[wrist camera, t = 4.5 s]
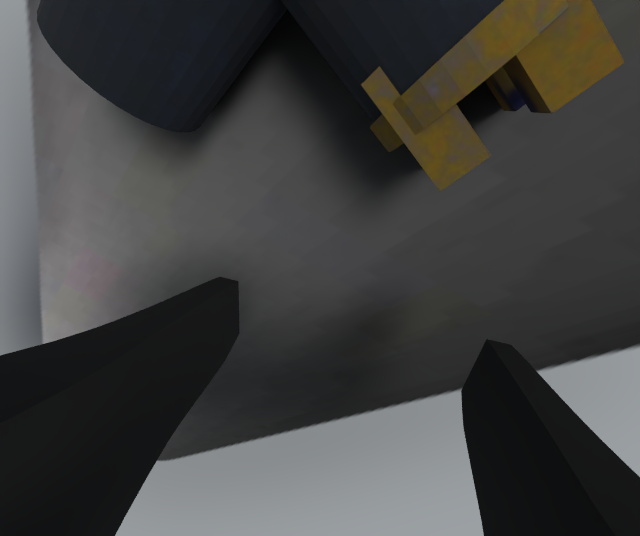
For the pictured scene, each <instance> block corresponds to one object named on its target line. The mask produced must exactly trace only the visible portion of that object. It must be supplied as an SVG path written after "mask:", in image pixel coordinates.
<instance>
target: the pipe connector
mask: <svg viewBox="0 0 640 536" xmlns="http://www.w3.org/2000/svg"><path fill="white" fill-rule="evenodd" d="M287 9H288V11H289V12H290V13H291V14H292V16H293V17H294V18H295V20H296V21H297V22H298V24H299V25H300V26H301V28H302V29H303V30H304V32H305V33H306V34H307V36H308V37H309V38H310V40H311V41H312V42H313V44H314V45H315V46H316V48H317V49H318V50H319V52H320V53H321V54H322V56H323V57H324V58H325V60H326V61H327V62H328V64H329V65H330V66H331V68H332V69H333V70H334V72H335V73H336V74H337V76H338V77H339V78H340V80H341V81H342V82H343V83H344V85H345V86H346V87H347V89H348V90H349V91H350V93H351V94H352V95H353V97H354V98H355V99H356V101H357V102H358V103H359V105H360V106H361V107H362V109H363V110H364V111H365V113H366V114H367V115H368V117H369V118H370V119H371V121H372V122H373V124H372V125H371V126H370V129H371V130H372V131H373V133H374V134H375V135H376V137H377V138H378V139H379V141H380V142H381V143H382V145H383V146H384V147H385V149H386V150H387V151H388V152H391V151H393V150H394V149H396V148H398V147H399V146H401V145H402V144H403V143H405V145H406V146H407V148H408V149H409V150H410V152H411V153H412V154H413V156H414V157H415V158H416V160H417V161H418V162H419V164H420V165H421V166H422V168H423V169H424V170H425V172H426V173H427V174H428V176H429V177H430V179H431V180H432V181H433V183H434V184H435V185H436V187H437V188H438V189H439V191H442V190H443V189H445V188H446V187H447V186H449V185H450V184H452V183H453V182H455V181H456V180H457V179H459V178H460V177H462V176H463V175H465V174H466V173H467V172H469V171H470V170H472V169H473V168H475V167H476V166H477V165H479V164H480V163H482V162H483V161H485V160H486V159H487V158H489V157H490V156H491V155H490V153H489V152H488V150H487V149H486V147H485V146H484V144H483V143H482V141H481V140H480V139H479V137H478V136H477V134H476V133H475V131H474V130H473V128H472V127H471V125H470V124H469V122H468V121H467V119H466V118H465V117H464V115H463V114H462V112H461V111H460V109H459V108H458V106H457V105H456V104H457V103H458V102H459V101H460V100H462V99H463V98H464V97H465V96H467V95H468V94H469V93H470V92H472V91H473V90H474V89H475V88H476V87H478V86H479V85H480V84H481V83H483V82H484V81H485V82H486V84H487V85H488V87H489V89H490V90H491V92H492V93H493V95H494V96H495V98H496V99H497V101H498V102H499V104H500V105H501V107H502V109H503V110H504V111H517V110H518V109H519V108H521V107H522V106H523V105H525V104H526V105H527V106H528V108H529V109H530V111H531V112H537V113H553V112H554V111H556V110H557V109H559V108H560V107H562V106H563V105H564V104H566V103H567V102H569V101H570V100H572V99H573V98H574V97H576V96H577V95H579V94H580V93H582V92H583V91H584V90H586V89H587V88H589V87H590V86H592V85H593V84H594V83H596V82H597V81H599V80H600V79H602V78H603V77H604V76H606V75H607V74H609V73H610V72H612V71H613V70H614V69H616V68H617V67H619V66H620V65H622V64H623V63H624V60H623V58H622V57H621V55H620V53H619V51H618V49H617V47H616V45H615V44H614V42H613V40H612V38H611V36H610V34H609V33H608V31H607V29H606V27H605V25H604V23H603V21H602V20H601V18H600V16H599V14H598V12H597V10H596V9H595V7H594V5H593V3H592V1H591V0H41V1H40V4H39V7H38V10H37V22H38V24H39V27H40V30H41V32H42V34H43V36H44V37H45V39H46V40H47V42H48V44H49V45H50V47H51V48H52V49H53V50H54V52H55V53H56V54H57V55H58V56H59V58H60V59H61V60H62V61H63V62H64V63H65V64H66V65H67V66H68V67H69V68H70V69H71V70H72V71H73V72H74V73H75V74H76V75H77V76H78V77H79V78H80V79H81V80H83V81H84V82H85V83H86V84H88V85H89V86H90V87H91V88H92V89H94V90H95V91H96V92H97V93H99V94H100V95H102V96H103V97H104V98H106V99H107V100H109V101H110V102H112V103H113V104H115V105H116V106H118V107H119V108H121V109H123V110H125V111H126V112H128V113H130V114H131V115H133V116H135V117H137V118H139V119H141V120H143V121H146V122H148V123H150V124H152V125H155V126H158V127H161V128H163V129H166V130H171V131H176V132H191V131H194V130H196V129H197V128H199V127H200V126H201V124H202V123H203V122H204V120H205V119H206V118H207V116H208V115H209V114H210V112H211V111H212V110H213V108H214V107H215V105H216V104H217V103H218V101H219V100H220V99H221V97H222V96H223V95H224V93H225V92H226V91H227V89H228V88H229V87H230V85H231V84H232V83H233V81H234V80H235V79H236V77H237V76H238V75H239V73H240V72H241V71H242V69H243V68H244V67H245V65H246V64H247V63H248V61H249V60H250V59H251V57H252V56H253V55H254V53H255V52H256V50H257V49H258V48H259V46H260V45H261V44H262V42H263V41H264V40H265V38H266V37H267V36H268V34H269V33H270V32H271V30H272V29H273V28H274V26H275V25H276V24H277V22H278V21H279V20H280V18H281V17H282V16H283V14H284V13H285V12H286V10H287Z"/></svg>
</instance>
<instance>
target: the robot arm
mask: <svg viewBox="0 0 640 536" xmlns="http://www.w3.org/2000/svg"><path fill="white" fill-rule="evenodd" d="M238 335H239V294H238V281H235V280H230V279H226V278H222V277H219V278H216V279H213V280H211V281H208V282H206V283H203V284H201V285H199V286H197V287H194V288H192V289H190V290H188V291H185V292H183V293H181V294H179V295H176V296H174V297H172V298H170V299H167V300H165V301H163V302H160V303H158V304H156V305H154V306H151V307H149V308H146V309H144V310H141V311H139V312H136V313H134V314H131V315H129V316H126V317H123V318H121V319H118V320H116V321H113V322H111V323H108V324H105V325H102V326H100V327H97V328H94V329H91V330H88V331H85V332H82V333H79V334H75V335H72V336H69V337H66V338H63V339H60V340H56V341H53V342H49V343H46V344H42V345H38V346H34V347H31V348H27V349H23V350H19V351H16V352H12V353H8V354H4V355H1V356H0V536H115V534H116V532H117V530H118V529H119V527H120V525H121V523H122V521H123V519H124V517H125V515H126V513H127V512H128V510H129V508H130V507H131V505H132V503H133V501H134V499H135V498H136V496H137V494H138V492H139V490H140V489H141V487H142V485H143V483H144V482H145V480H146V478H147V476H148V474H149V473H150V471H151V469H152V467H153V466H154V464H155V463H156V461H157V459H158V457H159V456H160V454H161V452H162V451H163V449H164V447H165V446H166V444H167V442H168V440H169V439H170V437H171V436H172V434H173V433H174V431H175V430H176V428H177V427H178V425H179V424H180V423H181V421H182V420H183V418H184V417H185V416H186V414H187V413H188V411H189V410H190V409H191V407H192V406H193V404H194V403H195V402H196V400H197V399H198V397H199V396H200V395H201V393H202V392H203V391H204V389H205V388H206V386H207V385H208V384H209V382H210V381H211V379H212V378H213V377H214V375H215V374H216V372H217V371H218V369H219V368H220V367H221V365H222V364H223V362H224V361H225V359H226V357H227V355H228V354H229V352H230V350H231V348H232V346H233V344H234V342H235V340H236V338H237V337H238ZM461 393H462V413H463V425H464V432H465V438H466V443H467V448H468V453H469V459H470V464H471V469H472V474H473V479H474V484H475V489H476V495H477V499H478V504H479V509H480V515H481V520H482V526H483V532H484V536H640V477H639V476H638V475H637V474H636V473H635V472H633V471H632V470H631V469H630V468H629V467H628V466H627V465H626V464H625V463H624V462H623V461H622V460H621V459H620V458H619V457H618V456H617V455H616V454H615V453H614V452H613V451H612V450H611V449H610V448H609V447H608V446H607V445H606V444H605V443H604V442H603V441H602V440H601V439H600V438H599V437H598V436H597V435H596V434H595V433H594V432H593V431H592V430H591V429H590V428H589V427H588V426H587V425H586V424H585V423H584V422H583V421H582V420H581V419H580V418H579V417H578V416H577V415H576V414H575V413H574V412H573V411H572V409H571V408H570V407H569V406H568V405H567V404H566V403H565V402H564V401H563V400H562V399H561V398H560V397H559V395H558V394H557V393H556V392H555V391H554V390H553V389H552V388H551V387H550V386H549V385H548V384H547V382H546V381H545V380H544V379H543V378H542V377H541V376H540V375H539V374H538V373H537V372H536V371H535V369H534V368H533V367H532V366H531V365H530V364H529V363H528V362H527V361H526V360H525V359H524V358H523V357H522V356H521V354H520V353H519V352H518V351H517V350H516V349H515V348H514V347H513V346H511V345H509V344H505V343H501V342H496V341H492V340H488V339H487V340H486V342H485V344H484V346H483V348H482V350H481V352H480V354H479V356H478V358H477V360H476V362H475V364H474V366H473V368H472V370H471V372H470V374H469V376H468V378H467V380H466V382H465V384H464V386H463V389H462V391H461Z"/></svg>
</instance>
